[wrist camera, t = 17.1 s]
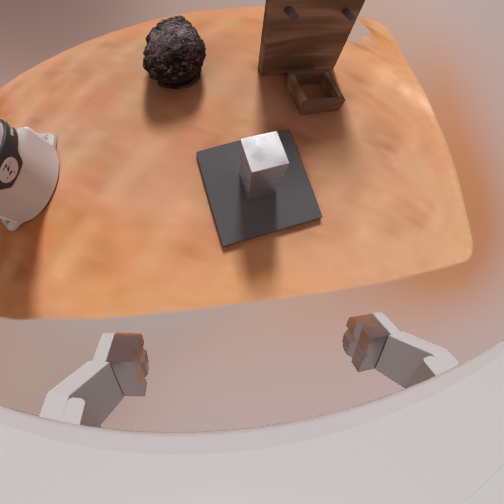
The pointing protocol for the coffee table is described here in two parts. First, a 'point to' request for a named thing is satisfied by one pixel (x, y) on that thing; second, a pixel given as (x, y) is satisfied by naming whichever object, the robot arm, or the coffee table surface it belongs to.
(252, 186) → the light gray square block
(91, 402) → the robot arm
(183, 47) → the dark porous rock
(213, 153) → the rubber mat
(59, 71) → the coffee table surface
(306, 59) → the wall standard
